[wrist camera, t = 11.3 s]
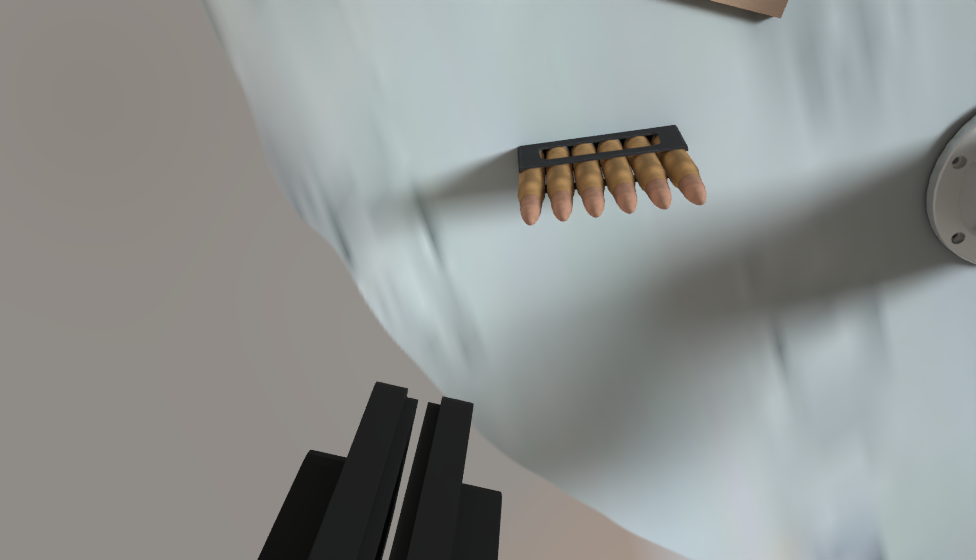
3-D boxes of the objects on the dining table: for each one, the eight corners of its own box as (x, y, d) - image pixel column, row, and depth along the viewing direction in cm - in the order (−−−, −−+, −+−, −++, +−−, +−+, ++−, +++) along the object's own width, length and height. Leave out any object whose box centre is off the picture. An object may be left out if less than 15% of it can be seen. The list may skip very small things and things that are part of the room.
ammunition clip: (521, 172, 45) (514, 241, 34) (517, 146, 44) (509, 209, 33) (677, 151, 43) (721, 217, 33) (676, 124, 43) (721, 183, 32)
